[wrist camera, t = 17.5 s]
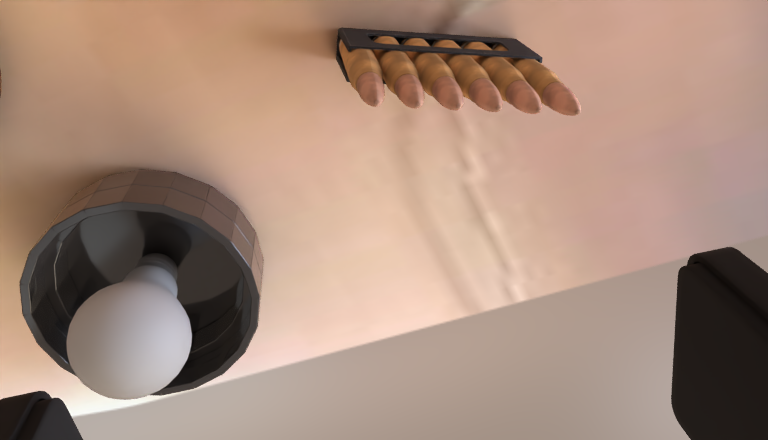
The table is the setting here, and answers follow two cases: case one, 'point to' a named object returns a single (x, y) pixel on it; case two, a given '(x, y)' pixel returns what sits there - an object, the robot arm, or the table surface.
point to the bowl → (132, 242)
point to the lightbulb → (132, 333)
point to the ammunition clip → (450, 71)
